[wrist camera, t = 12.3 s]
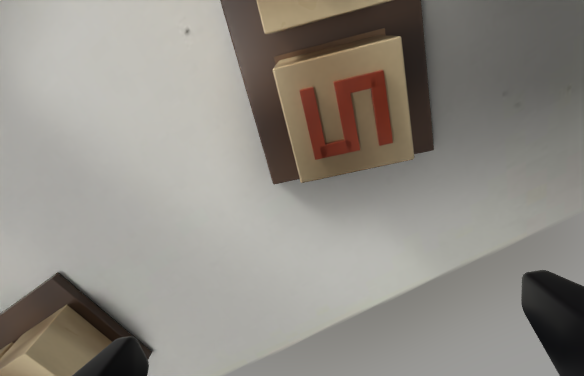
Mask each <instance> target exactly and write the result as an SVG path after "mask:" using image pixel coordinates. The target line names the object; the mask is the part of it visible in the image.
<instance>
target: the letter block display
mask: <svg viewBox="0 0 584 376" xmlns="http://www.w3.org/2000/svg"><path fill="white" fill-rule="evenodd" d="M220 1H221V4H222V8H223V11H224V15H225V18H226V22H227V25H228V29H229V32H230V36H231V39H232V42H233V46H234V49H235V53H236V56H237V60H238V63H239V67H240V70H241V74H242V77H243V81H244V84H245V87H246V91H247V94H248V98H249V101H250V105H251V108H252V112H253V115H254V119H255V122H256V126H257V129H258V133H259V136H260V139H261V143H262V146H263V150H264V153H265V157H266V160H267V164H268V167H269V171H270V174H271V178H272V181H273V184H278V183H283V182H287V181H292V180H297V179H300V177H299V173H298V169H297V165H296V161H295V157H294V153H293V149H292V145H291V141H290V137H289V134H288V130H287V126H286V122H285V118H284V114H283V110H282V106H281V102H280V98H279V94H278V90H277V86H276V82H275V78H274V74H273V68H274V67H275V66H276V64H277V63H278V62H279V61H280V60H283V59H287V58H291V57H294V56H298V55H302V54H306V53H310V52H314V51H318V50H322V49H326V48H329V47H333V46H337V45H341V44H345V43H349V42H353V41H357V40H361V39H365V38H368V37H372V36H376V35H387V36H400V37H401V39H402V48H403V57H404V66H405V76H406V85H407V94H408V103H409V112H410V122H411V131H412V140H413V149H414V154H418V153H422V152H427V151H432V150H434V146H433V134H432V122H431V111H430V99H429V88H428V76H427V64H426V53H425V41H424V30H423V18H422V6H421V0H220Z"/></svg>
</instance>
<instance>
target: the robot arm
mask: <svg viewBox="0 0 584 376" xmlns="http://www.w3.org/2000/svg"><path fill="white" fill-rule="evenodd" d="M522 307H523V311H524V313H525V315H526V317H527V318H528V320H529V322H530V324H531V326H532V327H533V329H534V331H535V333H536V334H537V336H538V338H539V340H540V341H541V343H542V345H543V347H544V348H545V350H546V352H547V354H548V356H549V357H550V359H551V361H552V363H553V364H554V366H555V368H556V370H557V371H558V373H559V375H560V376H584V286H581V285H579V284H577V283H574V282H572V281H570V280H567V279H565V278H563V277H560V276H558V275H556V274H554V273H551V272H549V271H546V270H539V271H533V272H527V273H525V274H524V275H523V277H522ZM148 367H149V364H148V359H147V357H146V355H145V353H144V351H143V350H142V348H141V346H140V344H139V342H138V340H137V339H136V338H135V337H133V336H128V337H122V338H118V339H116V340H114V341H113V342H112V343H111V344H109V345H108V346H107V347H106V348H105V349H103V350H102V351H101V352H100V353H99V354H97V355H96V356H95V357H94V358H93V359H91V360H90V361H89V362H88V363H87V364H85V365H84V366H83V367H82V368H81V369H79V370H78V371H77V372H76V373H75V374H73V375H72V376H147V373H148Z"/></svg>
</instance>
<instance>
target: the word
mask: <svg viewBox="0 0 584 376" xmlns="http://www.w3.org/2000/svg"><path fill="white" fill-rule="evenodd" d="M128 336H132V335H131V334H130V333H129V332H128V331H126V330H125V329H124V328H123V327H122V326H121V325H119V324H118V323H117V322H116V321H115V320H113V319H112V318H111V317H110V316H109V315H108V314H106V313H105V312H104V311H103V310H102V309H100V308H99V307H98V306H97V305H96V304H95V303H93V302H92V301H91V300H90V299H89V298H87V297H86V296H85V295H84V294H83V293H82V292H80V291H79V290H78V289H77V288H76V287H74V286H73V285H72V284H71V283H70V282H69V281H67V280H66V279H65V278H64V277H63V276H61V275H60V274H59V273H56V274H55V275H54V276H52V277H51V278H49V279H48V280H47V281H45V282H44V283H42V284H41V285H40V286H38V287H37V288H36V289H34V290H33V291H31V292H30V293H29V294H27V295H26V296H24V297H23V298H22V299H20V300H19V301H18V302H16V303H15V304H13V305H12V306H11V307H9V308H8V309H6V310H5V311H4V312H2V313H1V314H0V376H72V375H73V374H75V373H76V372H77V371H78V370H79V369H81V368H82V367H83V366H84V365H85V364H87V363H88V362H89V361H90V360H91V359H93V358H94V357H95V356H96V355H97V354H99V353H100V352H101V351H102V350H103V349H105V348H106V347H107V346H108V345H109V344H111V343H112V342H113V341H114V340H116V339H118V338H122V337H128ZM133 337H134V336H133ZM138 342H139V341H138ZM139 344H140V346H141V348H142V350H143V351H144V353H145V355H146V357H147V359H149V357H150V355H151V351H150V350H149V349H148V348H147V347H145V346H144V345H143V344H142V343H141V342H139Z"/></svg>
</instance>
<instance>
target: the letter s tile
mask: <svg viewBox="0 0 584 376" xmlns="http://www.w3.org/2000/svg"><path fill="white" fill-rule="evenodd" d="M273 74H274V78H275V82H276V86H277V90H278V94H279V98H280V102H281V106H282V110H283V114H284V118H285V122H286V126H287V130H288V134H289V137H290V141H291V145H292V149H293V153H294V157H295V161H296V165H297V169H298V173H299V177H300V181H301V183H304V182H309V181H313V180H318V179H323V178H328V177H332V176H337V175H342V174H346V173H351V172H356V171H361V170H365V169H370V168H375V167H379V166H384V165H389V164H394V163H398V162H403V161H408V160H413V159H414V149H413V140H412V131H411V122H410V112H409V103H408V94H407V85H406V76H405V66H404V57H403V48H402V39H401V37H400V36H387V35H376V36H372V37H368V38H365V39H361V40H357V41H353V42H349V43H345V44H341V45H337V46H333V47H329V48H326V49H322V50H318V51H314V52H310V53H306V54H302V55H298V56H294V57H291V58H287V59H283V60H280V61H279V62H278V63H277V64H276V66H275V67H274V68H273Z"/></svg>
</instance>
